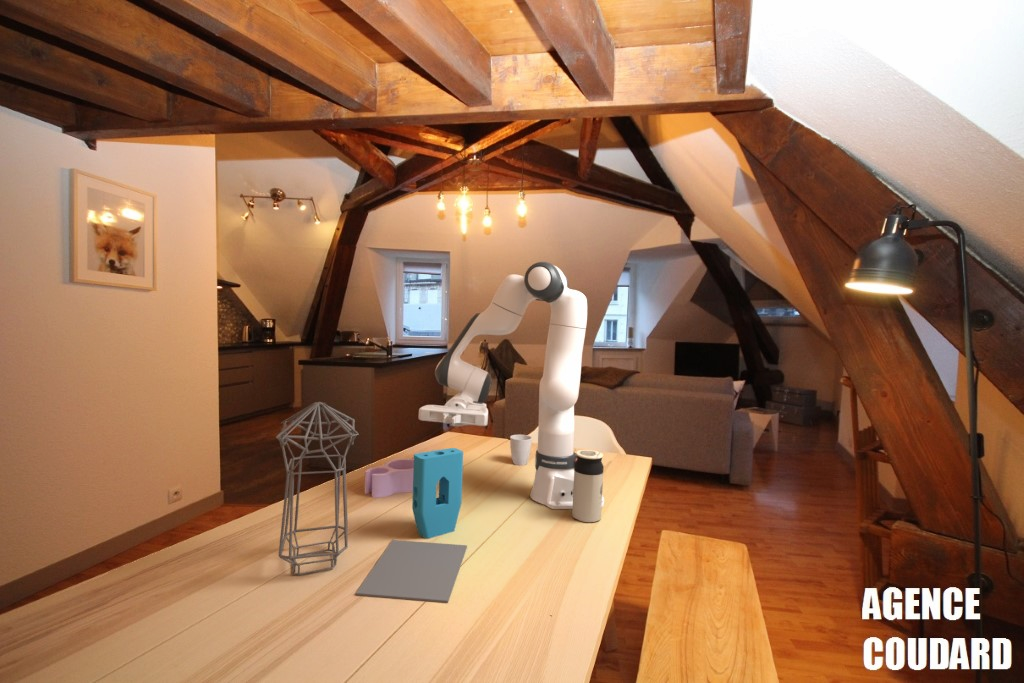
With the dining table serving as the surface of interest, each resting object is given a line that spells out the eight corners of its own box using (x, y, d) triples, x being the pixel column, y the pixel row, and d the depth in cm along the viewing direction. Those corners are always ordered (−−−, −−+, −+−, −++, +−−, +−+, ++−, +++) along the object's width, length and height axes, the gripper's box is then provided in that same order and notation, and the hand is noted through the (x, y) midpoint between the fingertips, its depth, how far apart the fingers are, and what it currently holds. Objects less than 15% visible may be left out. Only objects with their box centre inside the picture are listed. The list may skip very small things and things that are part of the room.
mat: (467, 547, 111) (467, 545, 111) (447, 602, 89) (447, 600, 89) (392, 541, 112) (392, 539, 112) (355, 595, 91) (355, 593, 90)
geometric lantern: (279, 550, 106) (281, 396, 104) (352, 541, 112) (356, 395, 110) (270, 589, 91) (273, 410, 90) (355, 576, 97) (359, 408, 95)
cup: (531, 460, 181) (532, 435, 181) (530, 467, 173) (531, 440, 172) (510, 459, 182) (511, 433, 181) (508, 465, 174) (509, 439, 173)
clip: (380, 502, 136) (381, 478, 136) (357, 490, 144) (357, 468, 144) (434, 485, 151) (434, 464, 151) (410, 475, 159) (410, 455, 159)
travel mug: (567, 518, 129) (570, 454, 129) (577, 509, 136) (580, 447, 136) (595, 525, 126) (599, 459, 125) (604, 515, 133) (607, 452, 132)
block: (419, 541, 113) (421, 459, 112) (410, 533, 117) (412, 454, 116) (461, 529, 120) (464, 452, 120) (452, 522, 124) (454, 447, 123)
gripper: (425, 398, 144) (412, 406, 131) (491, 403, 143) (485, 412, 129) (424, 418, 145) (411, 428, 131) (490, 424, 143) (484, 435, 130)
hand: (448, 420), depth 130 cm, fingers closed
